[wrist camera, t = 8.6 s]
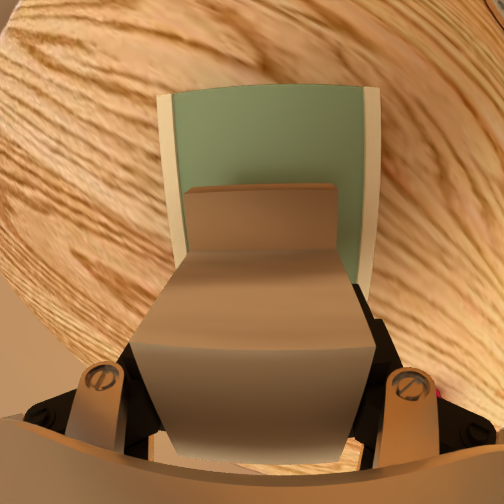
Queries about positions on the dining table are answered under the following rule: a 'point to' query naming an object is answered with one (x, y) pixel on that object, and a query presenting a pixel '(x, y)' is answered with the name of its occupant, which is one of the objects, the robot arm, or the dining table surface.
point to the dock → (278, 153)
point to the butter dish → (257, 330)
